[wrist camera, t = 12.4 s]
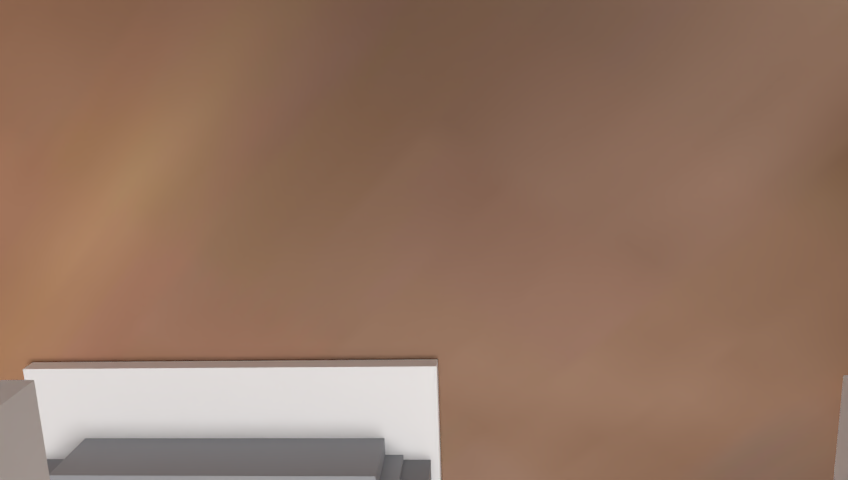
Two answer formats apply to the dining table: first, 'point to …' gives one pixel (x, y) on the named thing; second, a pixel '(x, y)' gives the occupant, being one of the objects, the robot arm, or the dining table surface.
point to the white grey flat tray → (240, 419)
